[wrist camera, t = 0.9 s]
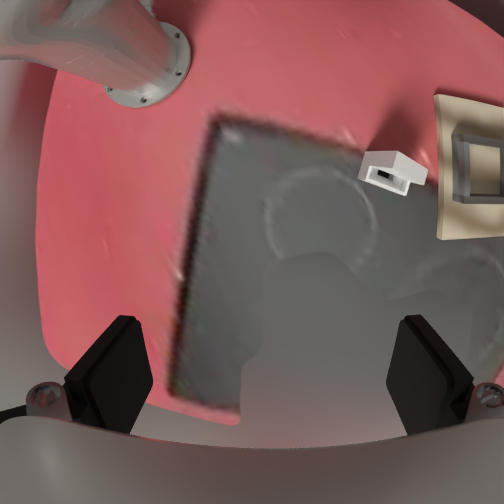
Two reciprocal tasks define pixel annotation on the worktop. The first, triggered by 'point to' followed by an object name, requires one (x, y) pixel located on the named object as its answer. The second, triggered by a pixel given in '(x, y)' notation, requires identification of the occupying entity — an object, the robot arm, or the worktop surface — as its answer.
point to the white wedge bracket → (391, 170)
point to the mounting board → (469, 168)
